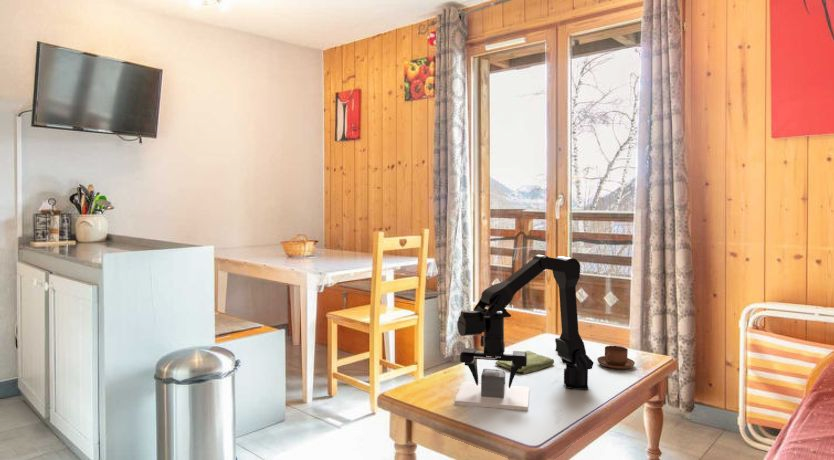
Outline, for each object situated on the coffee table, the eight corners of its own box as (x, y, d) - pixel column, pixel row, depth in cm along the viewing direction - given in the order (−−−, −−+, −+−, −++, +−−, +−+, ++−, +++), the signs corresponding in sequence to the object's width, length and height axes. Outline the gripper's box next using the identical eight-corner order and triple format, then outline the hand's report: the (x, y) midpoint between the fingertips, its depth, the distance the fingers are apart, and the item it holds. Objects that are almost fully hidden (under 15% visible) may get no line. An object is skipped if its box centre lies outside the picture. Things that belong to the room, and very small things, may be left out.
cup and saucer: (631, 374, 177) (632, 355, 176) (593, 368, 182) (594, 350, 182) (637, 364, 187) (637, 346, 187) (601, 359, 193) (601, 342, 193)
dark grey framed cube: (505, 390, 158) (505, 370, 158) (503, 398, 152) (504, 377, 152) (483, 388, 160) (483, 368, 159) (481, 396, 153) (481, 375, 153)
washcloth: (493, 366, 185) (493, 357, 185) (528, 357, 196) (528, 348, 195) (521, 376, 175) (521, 366, 174) (557, 366, 185) (557, 357, 185)
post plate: (529, 390, 161) (529, 373, 161) (527, 410, 146) (528, 392, 145) (462, 384, 166) (462, 368, 165) (454, 404, 150) (454, 386, 150)
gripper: (527, 327, 160) (527, 379, 161) (465, 324, 165) (464, 375, 165) (526, 337, 150) (526, 392, 150) (459, 333, 154) (459, 387, 155)
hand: (493, 386), depth 156 cm, fingers open, 9 cm apart
